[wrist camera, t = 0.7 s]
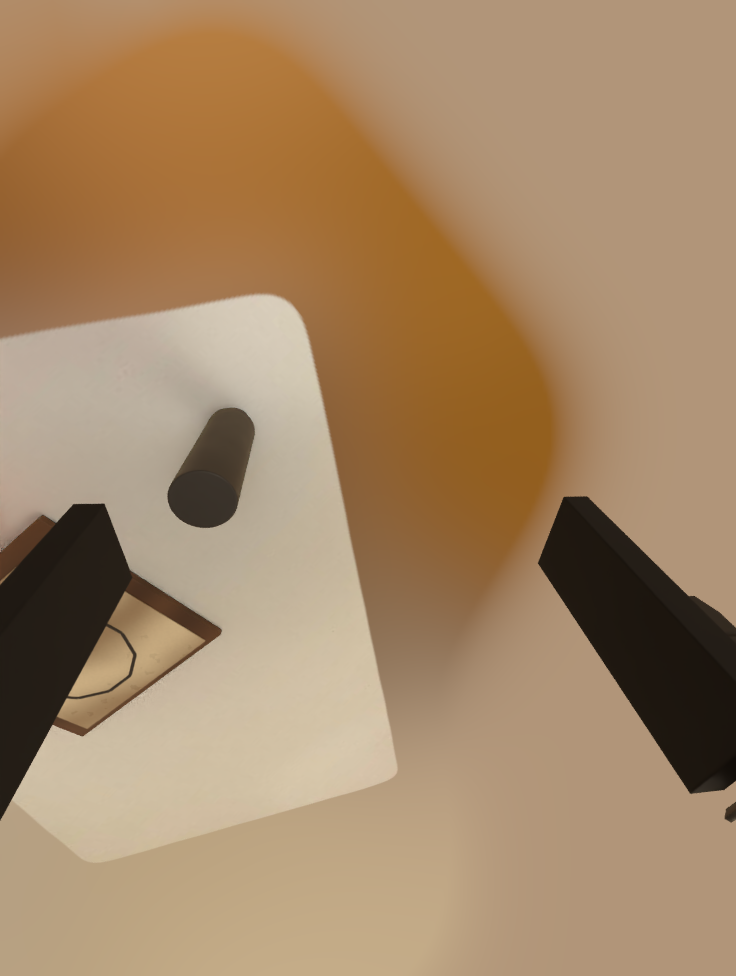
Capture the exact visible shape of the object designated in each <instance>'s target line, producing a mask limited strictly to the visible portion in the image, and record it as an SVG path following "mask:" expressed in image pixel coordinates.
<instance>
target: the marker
mask: <svg viewBox="0 0 736 976" xmlns="http://www.w3.org/2000/svg"><path fill="white" fill-rule="evenodd" d="M254 435H255V429H254V425H253V422H252V421H251V419H250V418H249V417H248V415H247V414H246V413H245V412H244V411H242V410H240V409H237V408H225V409H221V410H219V411H217V412H215V413H214V414H213V415H212V416H211V418H210V419H209V421H208V423H207V424H206V426H205V428H204V430H203V431H202V433H201V435H200V436H199V438H198V440H197V441H196V443H195V445H194V446H193V448H192V450H191V451H190V453H189V455H188V456H187V458H186V460H185V461H184V463H183V465H182V466H181V468H180V470H179V471H178V473H177V475H176V476H175V478H174V480H173V481H172V483H171V485H170V487H169V490H168V503H169V506H170V508H171V510H172V511H173V513H174V514H175V515H176V516H177V517H178V518H179V519H180V520H182V521H183V522H185V523H187V524H189V525H191V526H195V527H200V528H211V527H216V526H219V525H221V524H223V523H225V522H227V521H228V520H229V519H230V518H231V517H232V516H233V515H234V513H235V512H236V509H237V505H238V501H239V497H240V493H241V489H242V485H243V481H244V476H245V472H246V468H247V464H248V460H249V456H250V451H251V447H252V443H253V439H254Z"/></svg>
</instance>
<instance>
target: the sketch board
mask: <svg viewBox="0 0 736 976" xmlns="http://www.w3.org/2000/svg"><path fill="white" fill-rule="evenodd" d="M55 524H56V523H54V522H53V521H51V520H50V519H48V518H47V517H45V516H43V515H42V516H41V517H39V518H38V519H37V520H36V521H35V522H34V523H33V524H32V525H31V526H29V527H28V528H27V529H26V530H25V531H24V532H23V533H22V534H20V535H19V536H18V537H17V538H16V539H15V540H14V541H13V542H12V543H10V544H9V545H8V546H7V547H6V548H5V549H4V550H3V551H1V552H0V584H1V583H2V582H3V581H4V580H5V579H6V578H7V577H8V576H9V574H10V573H11V572H12V571H13V570H14V569H15V568H16V567H17V566H18V565H19V564H20V562H21V561H22V560H23V559H24V558H25V557H26V556H27V555H28V554H29V553H30V551H31V550H32V549H33V548H34V547H35V546H36V545H37V544H38V543H39V542H40V540H41V539H42V538H43V537H44V536H45V535H46V534H47V533H48V532H49V531H50V529H51V528H52V527H53V526H54V525H55ZM130 572H131V571H130ZM131 575H132V577H133V578H132V580H131V581H130V583H129V585H128V587H127V589H126V591H125V592H124V594H123V596H122V598H121V600H120V602H119V603H118V605H117V607H116V609H115V611H114V613H113V614H112V616H111V618H110V620H109V622H108V624H107V625H106V627H105V629H104V631H103V633H102V635H101V636H100V638H99V640H98V642H97V644H96V646H95V647H94V649H93V651H92V653H91V655H90V657H89V658H88V660H87V662H86V664H85V666H84V668H83V669H82V671H81V673H80V675H79V677H78V679H77V680H76V682H75V684H74V686H73V688H72V690H71V691H70V693H69V695H68V697H67V699H66V701H65V703H64V704H63V706H62V708H61V710H60V712H59V714H58V715H57V717H56V719H55V721H54V723H53V725H54V726H57V727H59V728H62V729H65V730H67V731H70V732H72V733H75V734H77V735H80V736H84V735H85V734H87V733H88V732H89V731H91V730H92V729H93V728H95V727H96V726H97V725H99V724H100V723H101V722H103V721H104V720H106V719H107V718H108V717H110V716H111V715H112V714H114V713H115V712H116V711H118V710H119V709H120V708H122V707H123V706H124V705H126V704H127V703H129V702H130V701H131V700H133V699H134V698H135V697H137V696H138V695H139V694H141V693H142V692H143V691H145V690H146V689H147V688H149V687H150V686H152V685H153V684H154V683H156V682H157V681H158V680H160V679H161V678H162V677H164V676H165V675H166V674H168V673H169V672H170V671H172V670H173V669H175V668H176V667H177V666H179V665H180V664H181V663H183V662H184V661H185V660H187V659H188V658H189V657H191V656H192V655H193V654H195V653H196V652H198V651H199V650H200V649H202V648H203V647H204V646H206V645H207V644H208V643H210V642H211V641H212V640H214V639H215V638H216V637H218V636H219V635H220V634H221V631H222V630H221V629H220V628H218V627H216V626H215V625H213V624H212V623H210V622H209V621H207V620H206V619H204V618H202V617H201V616H199V615H198V614H196V613H195V612H193V611H192V610H190V609H188V608H187V607H185V606H184V605H182V604H181V603H179V602H178V601H176V600H174V599H173V598H171V597H170V596H168V595H167V594H165V593H163V592H162V591H160V590H159V589H157V588H156V587H154V586H153V585H151V584H149V583H148V582H146V581H145V580H143V579H142V578H140V577H139V576H137V575H135V574H134V573H132V572H131Z"/></svg>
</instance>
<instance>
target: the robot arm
mask: <svg viewBox="0 0 736 976" xmlns="http://www.w3.org/2000/svg"><path fill="white" fill-rule="evenodd" d="M538 564H539V566H540V567H541V569H542V570H543V572H544V573H545V575H546V576H547V577H548V579H549V581H550V582H551V584H552V585H553V587H554V588H555V590H556V591H557V593H558V594H559V596H560V597H561V599H562V600H563V602H564V603H565V605H566V606H567V608H568V609H569V611H570V612H571V614H572V615H573V617H574V618H575V620H576V621H577V623H578V624H579V626H580V628H581V629H582V631H583V632H584V634H585V635H586V636H587V638H588V640H589V641H590V643H591V644H592V646H593V647H594V649H595V650H596V652H597V653H598V655H599V656H600V658H601V659H602V661H603V662H604V664H605V665H606V667H607V668H608V670H609V671H610V673H611V674H612V676H613V677H614V679H615V680H616V682H617V683H618V685H619V687H620V688H621V690H622V691H623V693H624V694H625V696H626V697H627V699H628V700H629V701H630V703H631V705H632V706H633V708H634V709H635V711H636V712H637V714H638V715H639V717H640V718H641V720H642V721H643V723H644V724H645V726H646V727H647V729H648V730H649V732H650V733H651V735H652V736H653V738H654V739H655V741H656V743H657V744H658V746H659V747H660V748H661V750H662V751H663V753H664V755H665V756H666V758H667V759H668V761H669V762H670V764H671V765H672V767H673V768H674V770H675V771H676V773H677V774H678V776H679V777H680V779H681V780H682V782H683V783H684V785H685V786H686V788H687V789H688V791H689V792H690V793H691V794H692V793H701V792H709V791H719V790H725V789H726V788H727V787H728V786H730V785H731V784H732V783H734V782H735V781H736V628H735V627H734V626H733V625H732V624H731V623H730V622H729V621H728V620H727V619H726V618H725V617H724V616H723V615H722V614H721V613H720V612H718V611H716V610H715V609H713V608H712V607H710V606H709V605H707V604H706V603H704V602H703V601H701V600H700V599H698V598H697V597H695V596H688V595H687V594H686V593H685V592H684V591H683V590H681V588H680V587H679V586H678V585H676V584H675V583H674V582H673V581H672V580H671V579H670V578H669V577H668V576H667V575H666V574H665V573H664V572H663V571H662V570H661V569H660V568H659V567H658V566H657V565H656V564H655V563H654V562H653V561H652V560H651V559H650V558H649V557H648V556H647V555H646V554H645V553H644V552H643V551H642V550H641V549H640V548H639V547H638V546H637V545H636V544H635V543H634V542H633V541H632V540H631V539H630V538H629V537H628V536H627V535H625V533H624V532H623V531H621V529H620V528H619V527H618V526H616V524H614V523H613V521H612V520H610V519H609V518H608V517H607V516H606V515H605V514H604V513H603V512H602V511H601V510H600V509H599V508H598V507H597V506H596V505H595V504H594V503H593V502H592V501H591V500H590V499H589V498H588V497H564V498H563V500H562V503H561V505H560V508H559V511H558V513H557V516H556V518H555V521H554V524H553V526H552V528H551V531H550V534H549V536H548V539H547V541H546V544H545V546H544V549H543V552H542V554H541V557H540V559H539V562H538ZM132 578H133V577H132V575H131V572H130V570H129V567H128V564H127V562H126V559H125V556H124V554H123V551H122V549H121V546H120V543H119V541H118V538H117V535H116V533H115V530H114V528H113V525H112V522H111V520H110V517H109V514H108V512H107V509H106V507H105V504H73V505H72V506H71V507H70V509H69V510H68V511H67V512H66V513H65V514H64V515H63V516H62V517H61V518H60V520H59V521H58V522H57V523H56V524H55V525H54V526H53V527H52V528H51V529H50V531H49V532H48V533H47V534H46V535H45V536H44V537H43V538H42V539H41V540H40V542H39V543H38V544H37V545H36V546H35V547H34V548H33V549H32V550H31V551H30V553H29V554H28V555H27V556H26V557H25V558H24V559H23V560H22V561H21V562H20V564H19V565H18V566H17V567H16V568H15V569H14V570H13V571H12V572H11V573H10V574H9V576H8V577H7V578H6V579H5V580H4V581H3V582H2V583H1V584H0V820H1V818H2V816H3V815H4V813H5V811H6V809H7V807H8V805H9V803H10V802H11V800H12V798H13V796H14V794H15V792H16V791H17V789H18V787H19V785H20V783H21V781H22V780H23V778H24V776H25V774H26V772H27V770H28V769H29V767H30V765H31V763H32V761H33V759H34V758H35V756H36V754H37V752H38V750H39V748H40V747H41V745H42V743H43V741H44V739H45V737H46V736H47V734H48V732H49V730H50V728H51V726H52V725H53V723H54V721H55V719H56V717H57V715H58V714H59V712H60V710H61V708H62V706H63V704H64V703H65V701H66V699H67V697H68V695H69V693H70V691H71V690H72V688H73V686H74V684H75V682H76V680H77V679H78V677H79V675H80V673H81V671H82V669H83V668H84V666H85V664H86V662H87V660H88V658H89V657H90V655H91V653H92V651H93V649H94V647H95V646H96V644H97V642H98V640H99V638H100V636H101V635H102V633H103V631H104V629H105V627H106V625H107V624H108V622H109V620H110V618H111V616H112V614H113V613H114V611H115V609H116V607H117V605H118V603H119V602H120V600H121V598H122V596H123V594H124V592H125V591H126V589H127V587H128V585H129V583H130V581H131V580H132ZM725 819H726V820H728V821H730V822H733V821H734V820H736V802H735V803H734V804H732V805H731V806H730V807H728V808H727V809H726V813H725Z"/></svg>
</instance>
